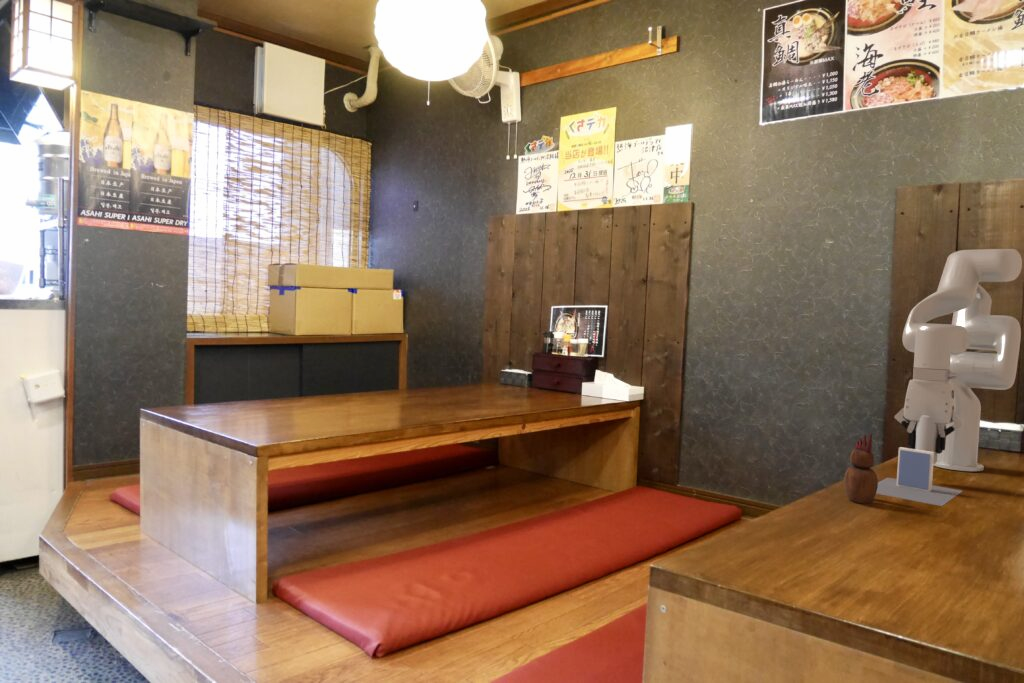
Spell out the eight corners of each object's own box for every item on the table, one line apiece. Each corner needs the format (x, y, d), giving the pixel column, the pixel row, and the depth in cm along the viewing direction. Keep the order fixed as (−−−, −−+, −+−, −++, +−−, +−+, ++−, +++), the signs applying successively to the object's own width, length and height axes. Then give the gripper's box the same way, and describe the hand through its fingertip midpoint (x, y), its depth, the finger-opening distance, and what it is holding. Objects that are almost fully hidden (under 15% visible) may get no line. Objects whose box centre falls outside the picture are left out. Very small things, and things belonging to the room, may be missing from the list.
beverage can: (940, 465, 168) (943, 414, 167) (918, 463, 169) (921, 413, 168) (932, 460, 173) (935, 412, 172) (910, 459, 174) (913, 410, 173)
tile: (898, 484, 167) (900, 447, 167) (931, 490, 163) (934, 452, 162) (896, 485, 166) (898, 447, 166) (929, 491, 161) (932, 452, 161)
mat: (887, 479, 175) (887, 477, 175) (962, 492, 164) (962, 490, 164) (861, 492, 160) (861, 490, 160) (941, 507, 149) (941, 506, 149)
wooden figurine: (881, 506, 149) (885, 435, 148) (853, 505, 149) (857, 434, 148) (865, 497, 155) (869, 430, 155) (839, 496, 155) (843, 429, 155)
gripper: (975, 378, 167) (970, 454, 168) (896, 372, 178) (892, 443, 179) (968, 380, 161) (963, 459, 162) (887, 373, 173) (883, 447, 174)
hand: (926, 450), depth 171 cm, fingers closed on beverage can, 4 cm apart
